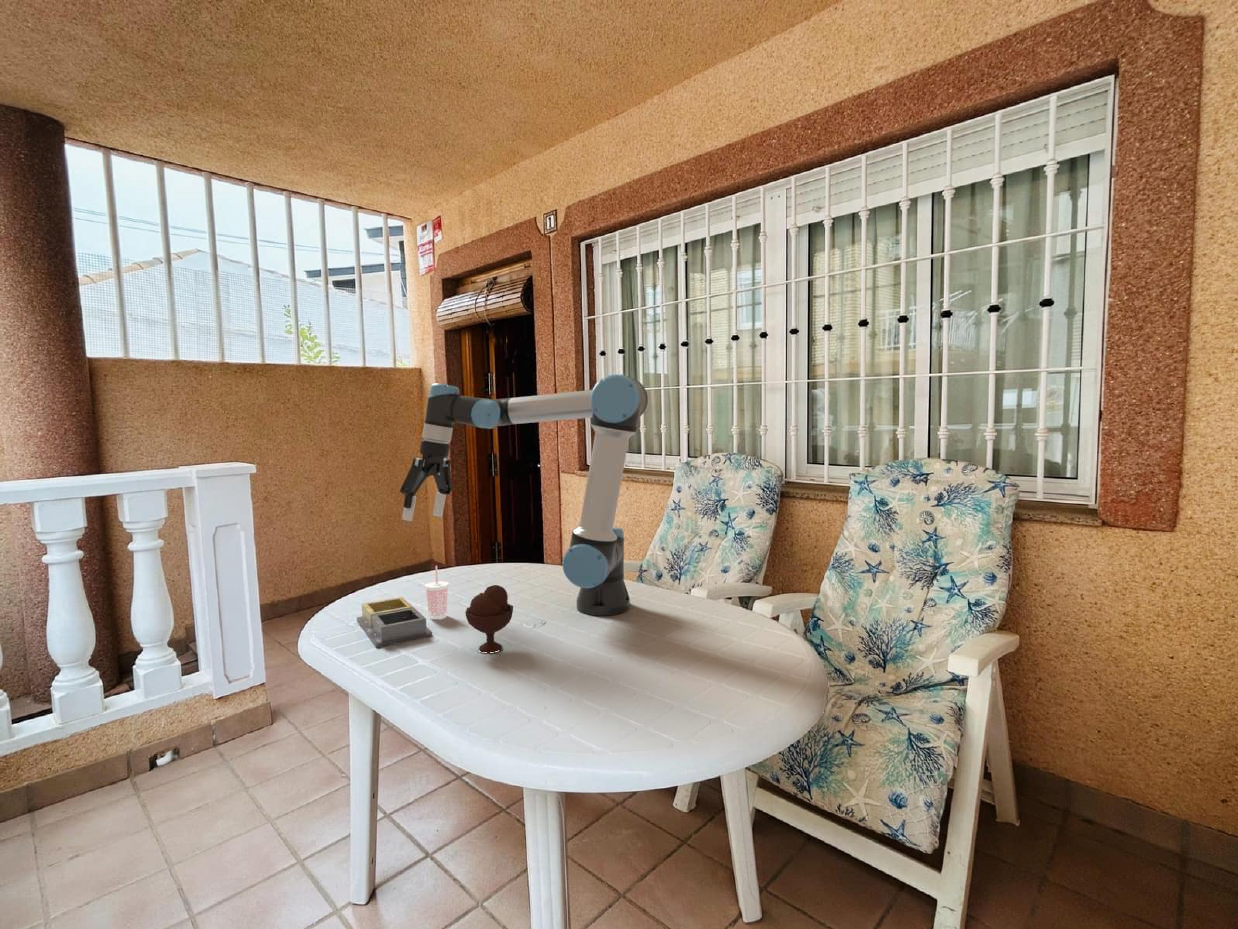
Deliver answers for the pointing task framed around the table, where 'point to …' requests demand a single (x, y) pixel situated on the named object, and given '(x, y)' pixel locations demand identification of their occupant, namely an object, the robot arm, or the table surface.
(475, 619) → the ice cream bowl
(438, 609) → the beverage cup
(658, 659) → the table surface
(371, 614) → the square compartment tray
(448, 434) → the robot arm
